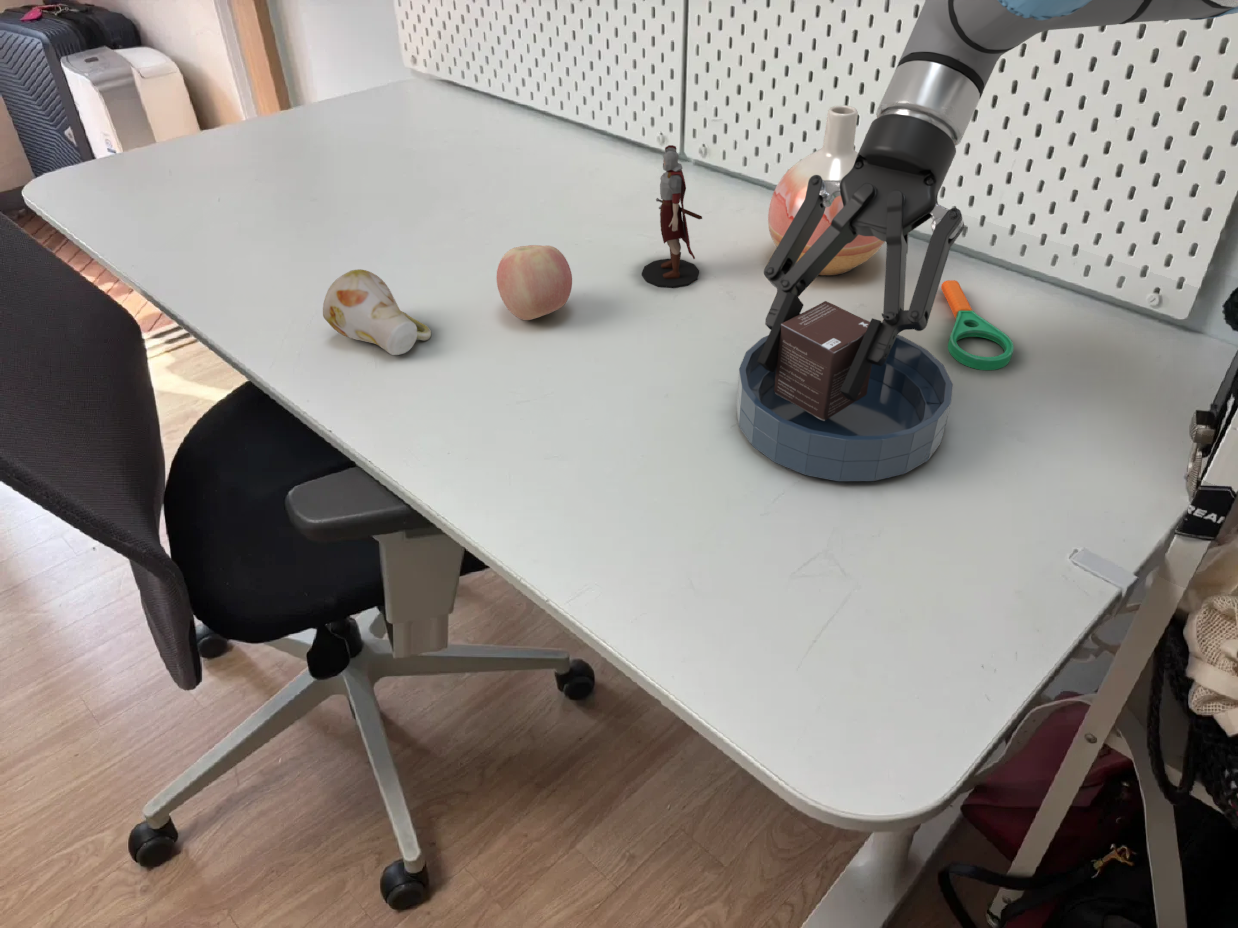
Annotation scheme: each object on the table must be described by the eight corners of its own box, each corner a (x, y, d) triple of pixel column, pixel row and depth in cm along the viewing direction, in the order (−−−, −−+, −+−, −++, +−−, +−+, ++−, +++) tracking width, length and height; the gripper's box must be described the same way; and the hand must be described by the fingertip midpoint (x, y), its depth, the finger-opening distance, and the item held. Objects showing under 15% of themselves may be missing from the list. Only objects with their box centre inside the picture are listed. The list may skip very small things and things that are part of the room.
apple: (582, 301, 103) (578, 234, 98) (561, 337, 97) (556, 268, 92) (513, 294, 105) (507, 227, 99) (490, 329, 99) (481, 260, 94)
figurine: (639, 261, 110) (638, 134, 100) (700, 258, 110) (705, 132, 101) (644, 289, 105) (643, 158, 95) (708, 286, 105) (714, 155, 95)
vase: (748, 278, 106) (759, 122, 95) (784, 229, 116) (798, 82, 105) (868, 301, 102) (894, 140, 90) (895, 248, 111) (922, 97, 100)
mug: (393, 376, 93) (329, 293, 88) (360, 375, 101) (300, 298, 96) (447, 331, 95) (388, 248, 91) (411, 333, 103) (355, 257, 99)
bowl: (970, 406, 86) (983, 361, 83) (889, 516, 75) (900, 468, 72) (795, 346, 95) (800, 303, 92) (699, 437, 84) (700, 391, 81)
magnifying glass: (1020, 370, 91) (1024, 355, 90) (957, 371, 91) (961, 356, 90) (975, 293, 103) (979, 279, 101) (920, 294, 103) (923, 280, 102)
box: (816, 368, 87) (826, 298, 82) (868, 396, 83) (881, 325, 79) (771, 393, 84) (778, 322, 79) (823, 423, 80) (833, 351, 76)
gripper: (1037, 178, 78) (924, 431, 78) (819, 132, 87) (720, 357, 87) (1033, 134, 71) (910, 410, 71) (798, 89, 80) (690, 333, 81)
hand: (805, 381), depth 79 cm, fingers closed on box, 7 cm apart
